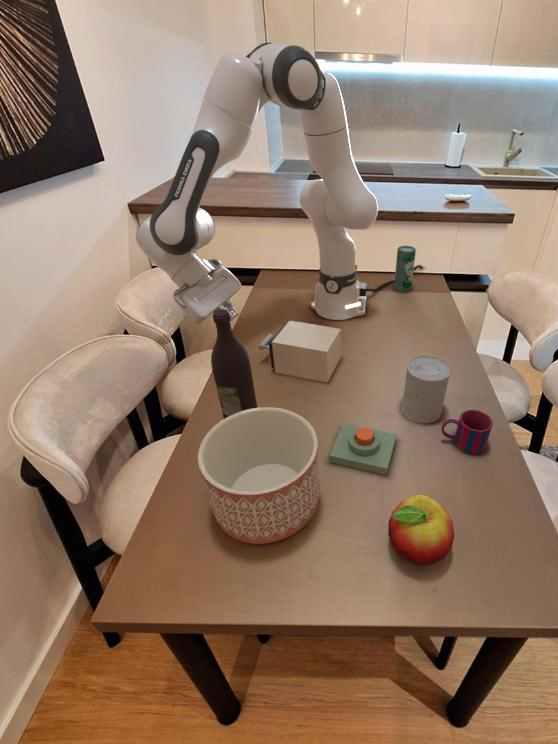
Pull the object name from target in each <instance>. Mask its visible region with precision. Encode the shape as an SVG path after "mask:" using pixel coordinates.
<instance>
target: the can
mask: <svg viewBox="0 0 558 744" xmlns="http://www.w3.org/2000/svg"><path fill="white" fill-rule="evenodd" d="M396 251H397V252H396V263H395V273H394V280H395V282H394V283H393V289H394V291H396V292H398V293H409V292H411V290H412V285H413V278H414V277H413V276H414V271H413V269H414V267H415V261H416V253H417V248H415V247H414V246H411V245H400V246H399V247H398V248H397V250H396Z"/></svg>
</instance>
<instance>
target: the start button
mask: <svg viewBox="0 0 558 744" xmlns="http://www.w3.org/2000/svg"><path fill="white" fill-rule="evenodd" d="M362 427H363V428H359V429H358V430H357V431H356V442H357V443H358V444H359V445H362V446H367V445H370V444H371V443H372V442H373V431H372V430H371V429H369V428H370V427H367V428H366V426H362Z"/></svg>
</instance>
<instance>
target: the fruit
mask: <svg viewBox="0 0 558 744" xmlns="http://www.w3.org/2000/svg"><path fill="white" fill-rule="evenodd" d="M387 524H388V526H387V528H388V529H387V531H388V532H387V535H388V538H389V541H390V544H391V547H392V548H393V550H394V551H395V552H396V554H397V555H398V556H399V557H400V558H401V559H402V560H404V561H405V562H406V563H409V564H411V565H414V566H419V567H420V566H421V567H429V566H433V565H435V564H438V563H439V562H441V561H442V560H443V559H445V558H446V557H447V556H448V554H449V552H450V551H451V550H452V547H453V544H454V540H455V527H454V521H453V520H452V517H451V516H450V514H449V512H448V511H447V510H446V509H445V507H443V505H442V504H440V502H438V501H436V500H435V499H433V498H431V497H429V496H427V495H425V494H416V495H412V496H408V497H407V498H406V499H404V500H402V501H401V502H399V504H397V506H396V507H395V508H394V509H393V510H392V512H391V515H390V517H389V519H388V523H387Z"/></svg>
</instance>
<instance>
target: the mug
mask: <svg viewBox="0 0 558 744" xmlns="http://www.w3.org/2000/svg"><path fill="white" fill-rule="evenodd" d="M448 424H454V425H456V426H457V427H456V430H455V434H449V433H448V432H447V431H445V428H446V426H447V425H448ZM493 425H494V422H493V419H492V418H491V417H490V415H488V414H487V413H485V412H483V411H481V410H477V409H467V410H464V411H463V412H461V413H460V415H459V419H454V418H448V419H446V420H444V421H443V423H442V425H441V433H442V435H443V436H445V437H446V438H447V439H450V440H452V441H453V442H454V444H455V446H456V448H457V449H459V451H461V452H463V453H465V454H469V455H478V454H481V453H482V452H484V451H485V448H486V446H487V444H488V440H489V437H490V435H491V432H492V429H493Z"/></svg>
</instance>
